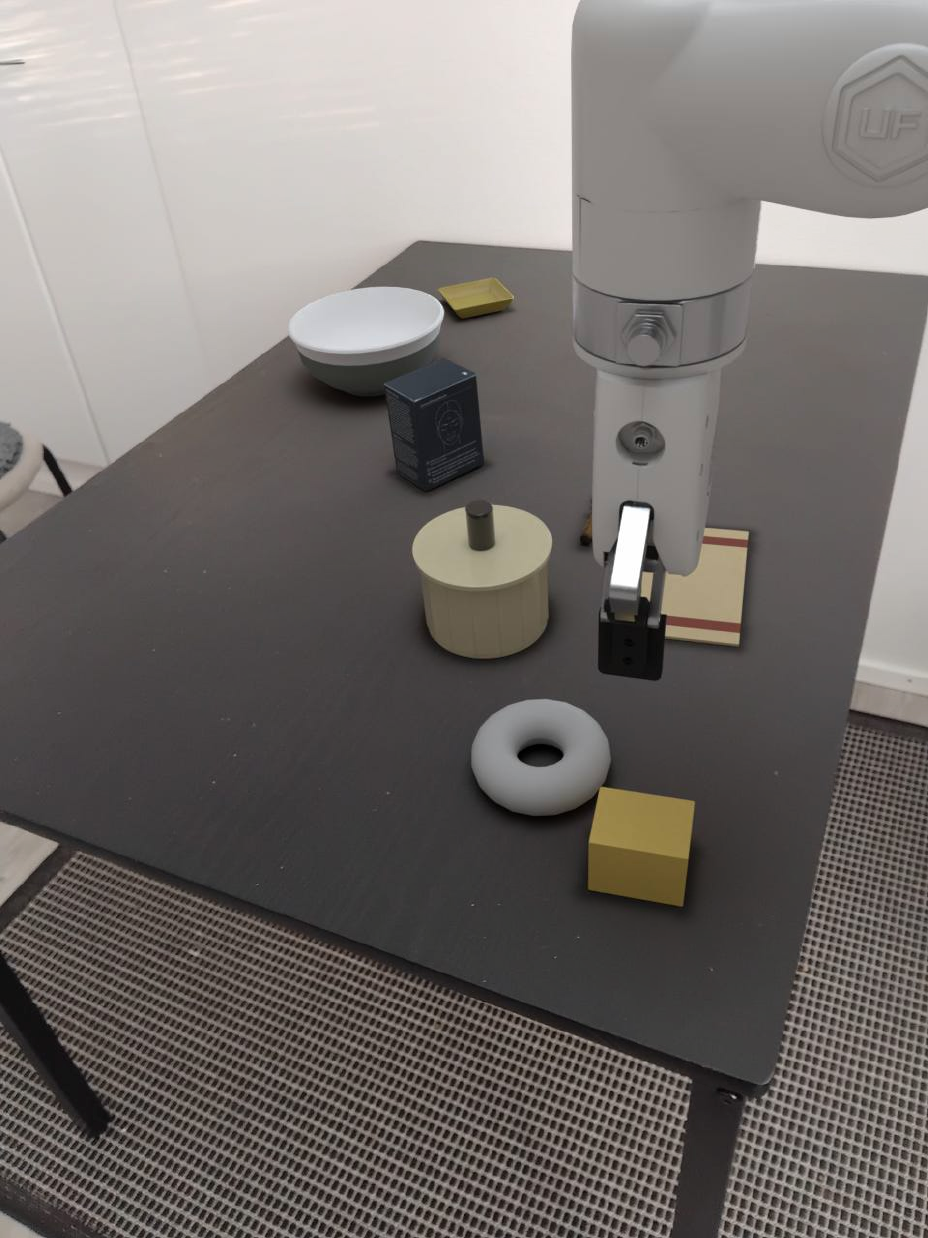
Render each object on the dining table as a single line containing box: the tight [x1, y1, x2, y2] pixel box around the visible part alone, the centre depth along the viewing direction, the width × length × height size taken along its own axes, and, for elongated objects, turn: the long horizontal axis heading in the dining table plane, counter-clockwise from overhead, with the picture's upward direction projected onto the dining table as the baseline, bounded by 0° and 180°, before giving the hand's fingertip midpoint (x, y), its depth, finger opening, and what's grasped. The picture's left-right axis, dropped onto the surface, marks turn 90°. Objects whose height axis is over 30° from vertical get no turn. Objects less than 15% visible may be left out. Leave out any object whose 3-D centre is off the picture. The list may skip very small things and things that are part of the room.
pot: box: [419, 562, 550, 660], centre depth 82 cm, size 10×10×7 cm
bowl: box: [287, 286, 445, 398], centre depth 119 cm, size 19×19×8 cm
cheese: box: [587, 786, 696, 908], centre depth 62 cm, size 6×4×5 cm
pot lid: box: [411, 499, 553, 592], centre depth 79 cm, size 11×11×5 cm
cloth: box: [641, 527, 750, 648], centre depth 86 cm, size 10×16×1 cm, turn 165°
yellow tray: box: [437, 277, 515, 319], centre depth 135 cm, size 9×9×2 cm
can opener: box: [579, 498, 593, 545], centre depth 94 cm, size 9×2×1 cm, turn 154°
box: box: [384, 357, 485, 492], centre depth 100 cm, size 8×6×11 cm
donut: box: [470, 698, 612, 817], centre depth 70 cm, size 10×4×10 cm
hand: (643, 613), depth 53 cm, fingers open, 9 cm apart
